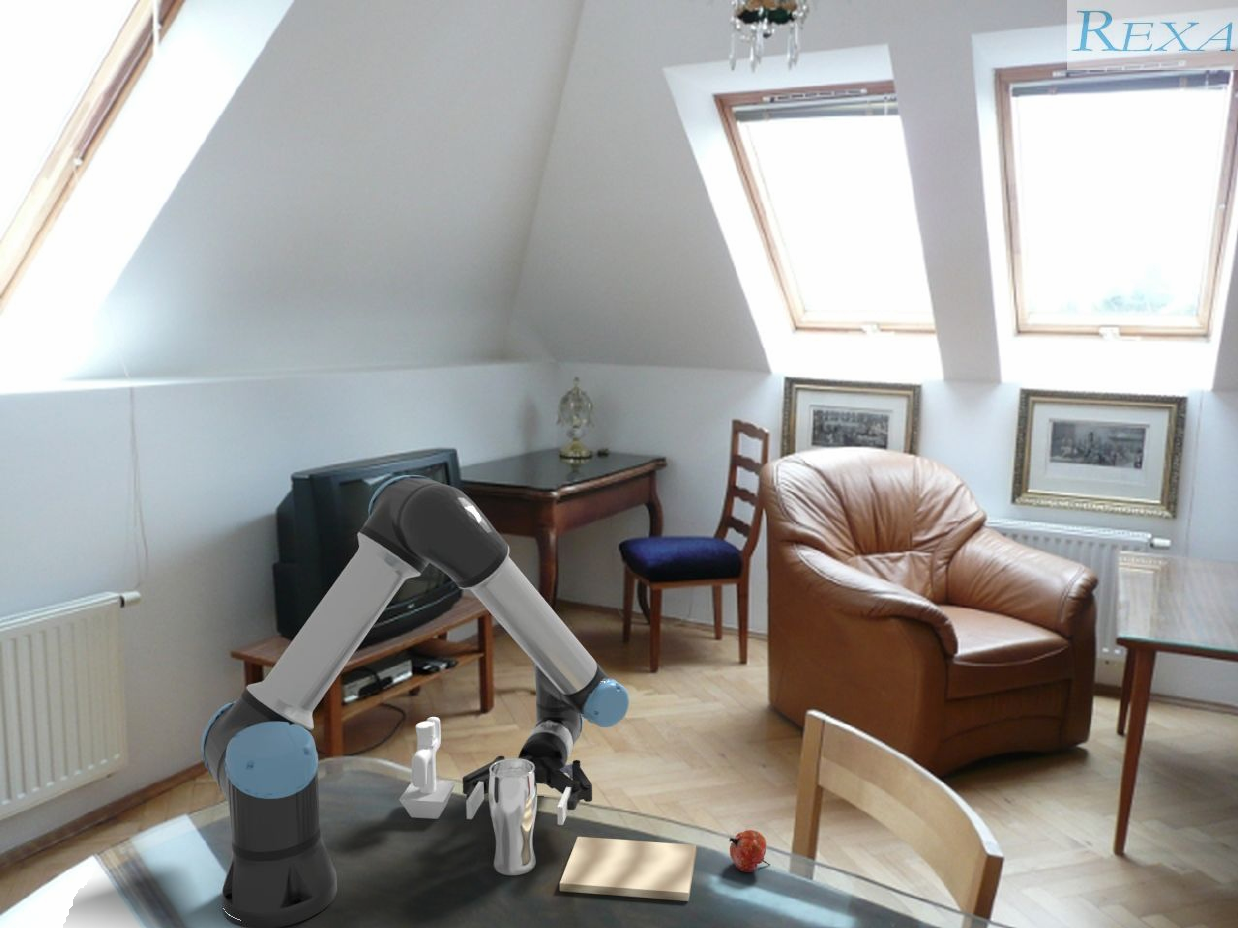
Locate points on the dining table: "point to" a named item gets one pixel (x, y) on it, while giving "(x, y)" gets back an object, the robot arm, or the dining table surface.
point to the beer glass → (513, 814)
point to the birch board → (630, 868)
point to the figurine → (426, 775)
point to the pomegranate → (748, 850)
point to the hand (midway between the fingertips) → (514, 813)
